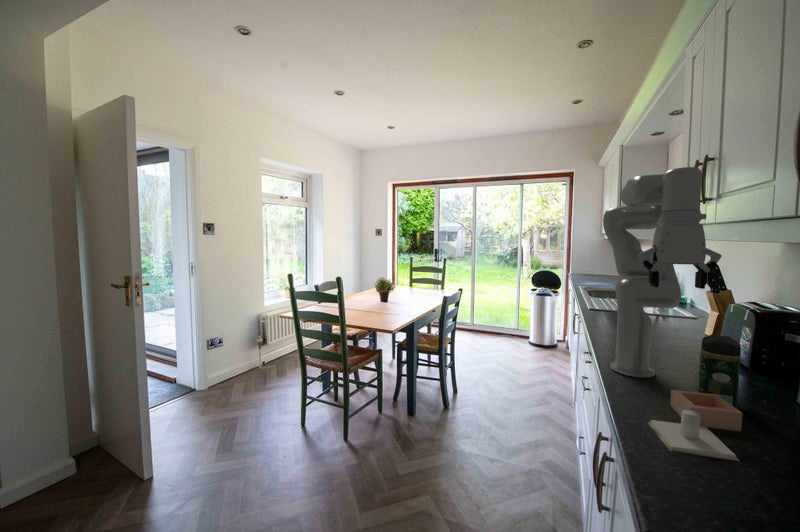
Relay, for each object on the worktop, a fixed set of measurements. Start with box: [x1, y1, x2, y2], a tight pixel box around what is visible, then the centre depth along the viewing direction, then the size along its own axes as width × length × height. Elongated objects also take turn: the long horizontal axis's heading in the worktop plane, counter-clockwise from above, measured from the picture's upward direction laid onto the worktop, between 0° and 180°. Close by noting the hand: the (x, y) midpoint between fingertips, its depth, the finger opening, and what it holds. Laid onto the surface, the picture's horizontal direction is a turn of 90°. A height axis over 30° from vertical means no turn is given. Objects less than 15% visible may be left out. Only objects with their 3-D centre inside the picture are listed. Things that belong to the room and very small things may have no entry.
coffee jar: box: [697, 333, 742, 409], centre depth 94 cm, size 10×8×19 cm
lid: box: [650, 410, 737, 459], centre depth 77 cm, size 11×11×6 cm
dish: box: [669, 389, 743, 433], centre depth 87 cm, size 10×10×5 cm
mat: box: [647, 421, 740, 462], centre depth 78 cm, size 12×12×1 cm
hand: (676, 287), depth 88 cm, fingers open, 9 cm apart
